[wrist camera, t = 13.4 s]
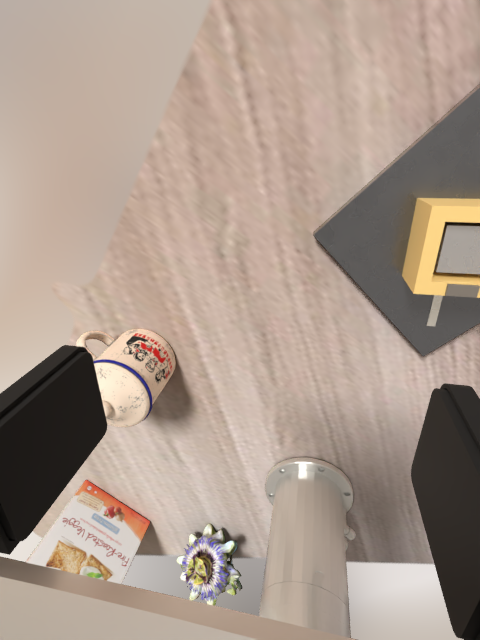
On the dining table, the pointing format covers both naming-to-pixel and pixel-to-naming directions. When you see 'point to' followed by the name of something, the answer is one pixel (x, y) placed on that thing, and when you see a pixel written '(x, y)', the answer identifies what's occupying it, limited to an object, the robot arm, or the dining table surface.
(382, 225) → the post plate
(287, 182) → the dining table surface
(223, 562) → the passion flower
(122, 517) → the cracker box
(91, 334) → the teacup with lid
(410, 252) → the collar
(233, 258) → the dining table surface
